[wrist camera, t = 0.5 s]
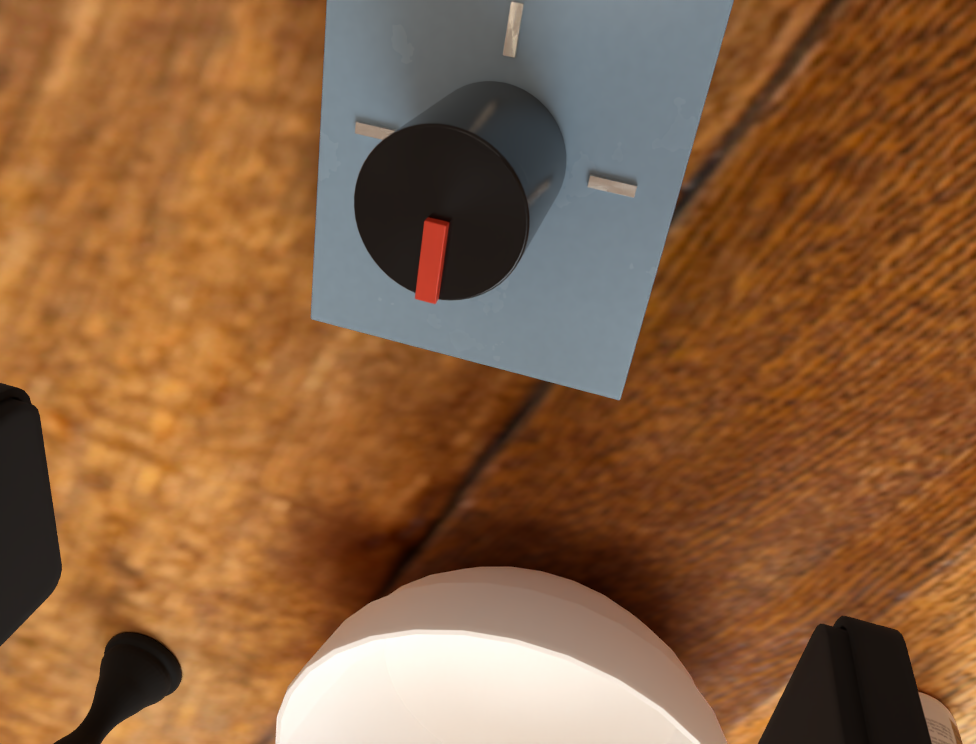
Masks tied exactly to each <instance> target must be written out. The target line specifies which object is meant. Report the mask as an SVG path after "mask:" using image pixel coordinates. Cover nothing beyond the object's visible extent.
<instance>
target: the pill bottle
mask: <svg viewBox="0 0 976 744" xmlns="http://www.w3.org/2000/svg"><path fill="white" fill-rule="evenodd" d="M918 693H919V697H920V700H921V704H922V708H923V712H924V716H925V719H926V723H927V727H928V731H929V734H930V738H931V742H932V744H962V741H961V737H960V734H959V731H958V728H957V724H956V722H955V719H954V717H953V716H952V714H951V713H950V711H949V710H948V709H947V708H946V707H945V706H944V705H943V704H942V703H941V702H940V701H938V700H937V699H935V698H933V697H931V696H929V695H927V694H924V693H921V692H918Z"/></svg>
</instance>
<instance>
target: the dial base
mask: <svg viewBox="0 0 976 744" xmlns="http://www.w3.org/2000/svg"><path fill="white" fill-rule="evenodd" d="M733 2H734V0H327V6H326V26H325V46H324V66H323V86H322V105H321V125H320V145H319V165H318V184H317V204H316V224H315V244H314V264H313V283H312V303H311V319H313V320H316V321H320V322H324V323H328V324H332V325H335V326H339V327H343V328H347V329H351V330H354V331H358V332H362V333H366V334H370V335H373V336H377V337H381V338H385V339H389V340H392V341H396V342H400V343H404V344H408V345H411V346H415V347H419V348H423V349H426V350H430V351H434V352H438V353H442V354H445V355H449V356H453V357H457V358H461V359H464V360H468V361H472V362H476V363H480V364H483V365H487V366H491V367H495V368H499V369H502V370H506V371H510V372H514V373H518V374H521V375H525V376H529V377H533V378H537V379H540V380H544V381H548V382H552V383H556V384H559V385H563V386H567V387H571V388H574V389H578V390H582V391H586V392H590V393H593V394H597V395H601V396H605V397H609V398H612V399H616V400H620V399H621V396H622V392H623V389H624V385H625V382H626V378H627V375H628V371H629V368H630V364H631V361H632V357H633V354H634V350H635V347H636V343H637V340H638V336H639V333H640V329H641V326H642V322H643V319H644V315H645V311H646V308H647V304H648V301H649V297H650V294H651V290H652V287H653V283H654V280H655V276H656V273H657V269H658V266H659V262H660V259H661V255H662V252H663V248H664V245H665V241H666V238H667V234H668V230H669V227H670V223H671V220H672V216H673V213H674V209H675V206H676V202H677V199H678V195H679V192H680V188H681V185H682V181H683V178H684V174H685V171H686V167H687V164H688V160H689V157H690V153H691V150H692V146H693V142H694V139H695V135H696V132H697V128H698V125H699V121H700V118H701V114H702V111H703V107H704V104H705V100H706V97H707V93H708V90H709V86H710V83H711V79H712V76H713V72H714V69H715V65H716V61H717V58H718V54H719V51H720V47H721V44H722V40H723V37H724V33H725V30H726V26H727V23H728V19H729V16H730V12H731V9H732V5H733ZM482 81H497V82H504V83H508V84H511V85H514V86H517V87H519V88H521V89H524V90H525V91H527V92H528V93H530V94H532V95H533V96H534V97H536V98H537V99H538V100H539V101H541V103H542V104H543V105H544V106H545V107H546V108H547V109H548V110H549V111H550V113H551V114H552V116H553V117H554V119H555V120H556V122H557V124H558V126H559V128H560V131H561V133H562V136H563V139H564V143H565V149H566V172H565V177H564V181H563V184H562V187H561V189H560V192H559V194H558V196H557V197H556V199H555V201H554V203H553V204H552V206H551V208H550V210H549V211H548V213H547V215H546V216H545V218H544V220H543V222H542V223H541V225H540V227H539V229H538V230H537V232H536V234H535V236H534V237H533V239H532V241H531V242H530V244H529V246H528V248H527V249H526V251H525V253H524V255H523V256H522V258H521V260H520V261H519V263H518V265H517V266H516V268H515V269H514V271H513V272H512V273H511V274H510V275H509V277H508V278H506V279H505V280H504V281H503V282H502V283H501V284H500V285H498V286H497V287H495V288H494V289H492V290H490V291H488V292H486V293H484V294H482V295H479V296H476V297H473V298H469V299H464V300H451V301H449V300H438V301H437V303H436V304H432V303H429V302H425V301H421V300H417V299H415V293H414V292H412V291H410V290H407V289H406V288H404V287H402V286H401V285H399V284H398V283H396V282H395V281H394V280H392V279H391V278H390V277H389V276H388V275H386V274H385V273H384V272H383V271H382V270H381V269H380V268H379V266H378V265H377V264H376V263H375V262H374V260H373V259H372V257H371V256H370V254H369V253H368V251H367V249H366V248H365V246H364V244H363V242H362V239H361V237H360V234H359V231H358V228H357V224H356V220H355V212H354V193H355V186H356V181H357V178H358V174H359V172H360V170H361V167H362V165H363V163H364V161H365V160H366V158H367V157H368V155H369V154H370V152H371V151H372V150H373V149H374V148H375V147H376V145H378V144H379V143H380V142H381V141H382V140H383V139H384V138H386V137H387V136H389V135H390V134H392V133H393V132H395V131H396V130H397V129H399V128H400V127H402V126H403V125H405V124H406V123H408V122H409V121H411V120H412V119H414V118H415V117H416V116H418V115H419V114H421V113H422V112H424V111H425V110H427V109H428V108H430V107H431V106H432V105H434V104H435V103H437V102H438V101H440V100H441V99H443V98H444V97H446V96H447V95H449V94H450V93H452V92H453V91H455V90H456V89H458V88H461V87H463V86H465V85H468V84H471V83H475V82H482Z"/></svg>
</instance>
